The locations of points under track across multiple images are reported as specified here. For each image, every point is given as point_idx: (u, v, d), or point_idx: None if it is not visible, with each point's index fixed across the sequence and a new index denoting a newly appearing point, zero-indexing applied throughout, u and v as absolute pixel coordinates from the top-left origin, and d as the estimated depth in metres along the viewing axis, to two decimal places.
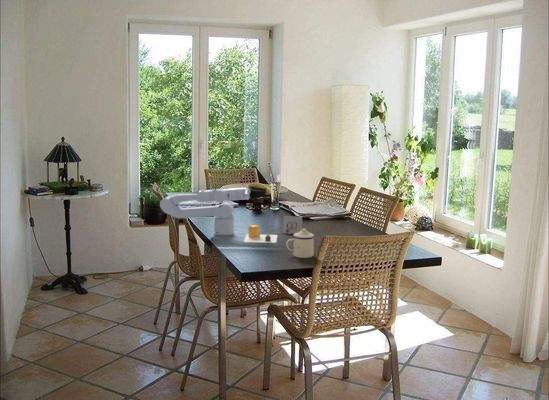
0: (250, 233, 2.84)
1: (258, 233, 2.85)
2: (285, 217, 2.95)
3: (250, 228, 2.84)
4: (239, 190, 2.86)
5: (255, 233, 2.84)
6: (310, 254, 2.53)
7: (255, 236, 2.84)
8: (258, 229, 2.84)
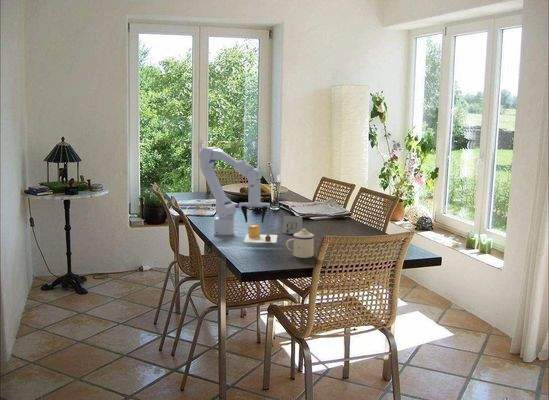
0: (250, 233, 2.84)
1: (258, 233, 2.85)
2: (285, 217, 2.95)
3: (250, 228, 2.84)
4: (250, 197, 2.81)
5: (255, 233, 2.84)
6: (310, 254, 2.53)
7: (255, 236, 2.84)
8: (258, 229, 2.84)
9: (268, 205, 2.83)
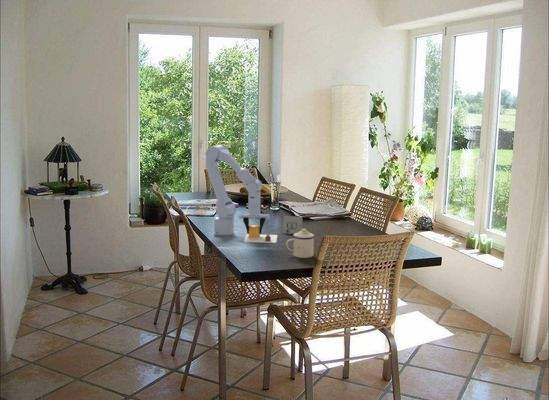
0: (250, 233, 2.84)
1: (258, 233, 2.85)
2: (285, 217, 2.95)
3: (250, 228, 2.84)
4: (250, 209, 2.82)
5: (255, 233, 2.84)
6: (310, 254, 2.53)
7: (255, 236, 2.84)
8: (258, 229, 2.84)
9: (268, 217, 2.84)
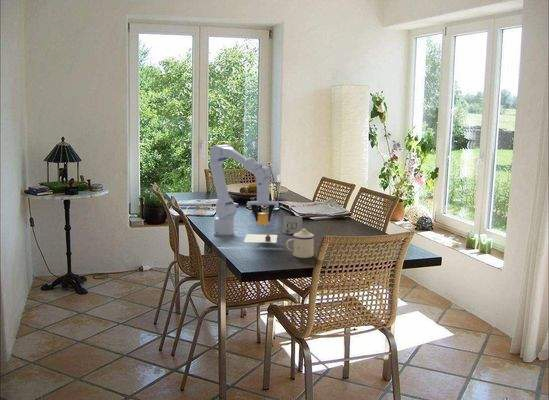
0: (259, 220, 2.78)
1: (267, 220, 2.79)
2: (285, 217, 2.95)
3: (259, 215, 2.78)
4: (258, 196, 2.76)
5: (264, 220, 2.78)
6: (310, 254, 2.53)
7: (264, 224, 2.78)
8: (267, 216, 2.78)
9: (277, 204, 2.78)
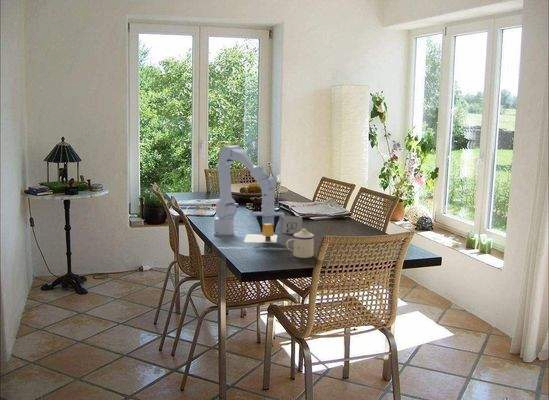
0: (264, 232, 2.76)
1: (272, 232, 2.76)
2: (285, 217, 2.95)
3: (264, 226, 2.75)
4: (264, 207, 2.74)
5: (269, 232, 2.75)
6: (310, 254, 2.53)
7: (269, 235, 2.75)
8: (272, 227, 2.76)
9: (282, 215, 2.75)
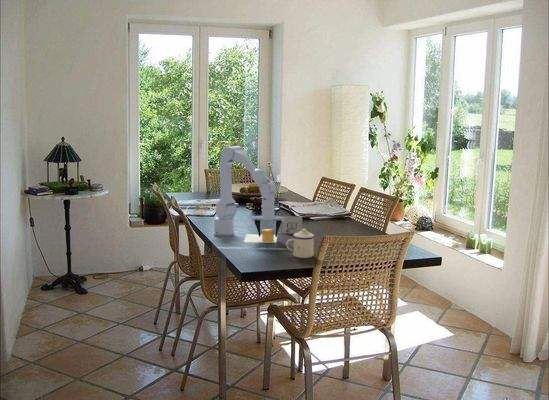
0: (264, 237, 2.76)
1: (272, 237, 2.77)
2: (285, 217, 2.95)
3: (264, 232, 2.76)
4: (263, 211, 2.74)
5: (269, 237, 2.76)
6: (310, 254, 2.53)
7: (269, 240, 2.76)
8: (272, 233, 2.76)
9: (282, 219, 2.75)
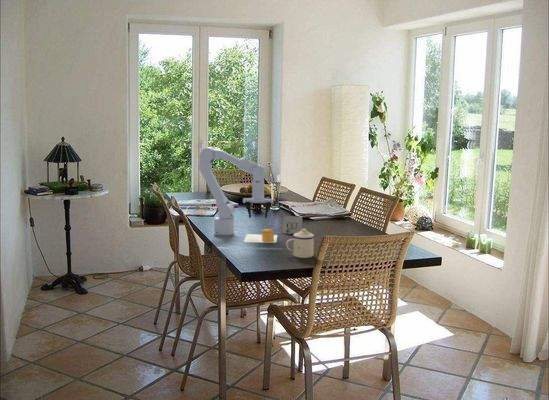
0: (264, 237, 2.76)
1: (272, 237, 2.77)
2: (285, 217, 2.95)
3: (264, 232, 2.76)
4: (254, 193, 2.85)
5: (269, 237, 2.76)
6: (310, 254, 2.53)
7: (269, 240, 2.76)
8: (272, 233, 2.76)
9: (272, 201, 2.86)
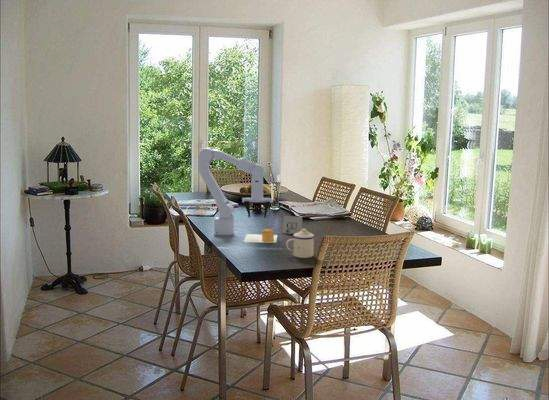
0: (264, 237, 2.76)
1: (272, 237, 2.77)
2: (285, 217, 2.95)
3: (264, 232, 2.76)
4: (253, 192, 2.86)
5: (269, 237, 2.76)
6: (310, 254, 2.53)
7: (269, 240, 2.76)
8: (272, 233, 2.76)
9: (271, 200, 2.87)
